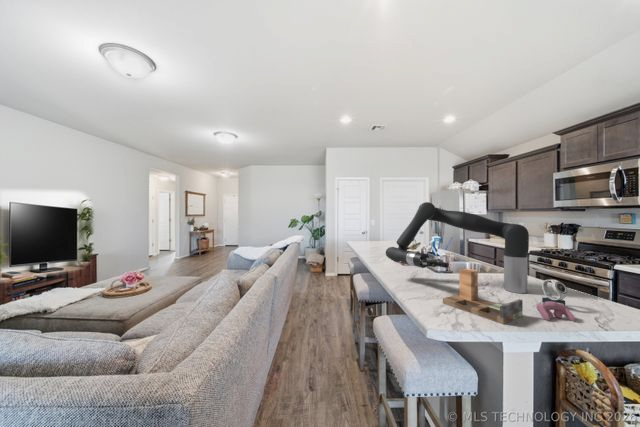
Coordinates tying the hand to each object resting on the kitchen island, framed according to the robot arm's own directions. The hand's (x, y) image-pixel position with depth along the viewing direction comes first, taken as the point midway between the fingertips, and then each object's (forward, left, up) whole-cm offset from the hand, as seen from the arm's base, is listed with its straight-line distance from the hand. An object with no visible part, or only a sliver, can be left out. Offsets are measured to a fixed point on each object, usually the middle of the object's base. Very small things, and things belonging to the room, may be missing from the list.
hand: (447, 265), depth 114 cm
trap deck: (+3, +16, -14) cm, 22 cm away
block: (0, +10, -12) cm, 16 cm away
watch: (-26, +30, -14) cm, 42 cm away
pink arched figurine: (-11, +34, -15) cm, 39 cm away
